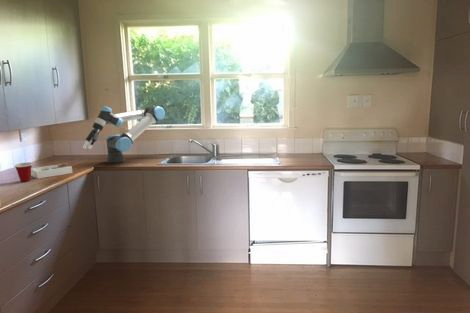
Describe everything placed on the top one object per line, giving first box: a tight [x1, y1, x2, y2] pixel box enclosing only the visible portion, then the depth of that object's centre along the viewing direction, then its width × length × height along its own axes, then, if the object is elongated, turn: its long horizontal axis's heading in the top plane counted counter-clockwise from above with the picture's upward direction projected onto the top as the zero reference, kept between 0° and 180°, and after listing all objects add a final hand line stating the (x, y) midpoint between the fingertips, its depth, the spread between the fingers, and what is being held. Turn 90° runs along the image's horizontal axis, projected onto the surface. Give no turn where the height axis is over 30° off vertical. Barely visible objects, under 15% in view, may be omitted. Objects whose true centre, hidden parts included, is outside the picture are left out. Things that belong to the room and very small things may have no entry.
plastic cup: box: [14, 162, 33, 183], centre depth 244 cm, size 11×11×12 cm
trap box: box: [31, 164, 73, 179], centre depth 266 cm, size 24×16×5 cm, turn 134°
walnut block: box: [57, 162, 69, 168], centre depth 269 cm, size 6×6×4 cm
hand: (86, 148), depth 279 cm, fingers open, 13 cm apart
